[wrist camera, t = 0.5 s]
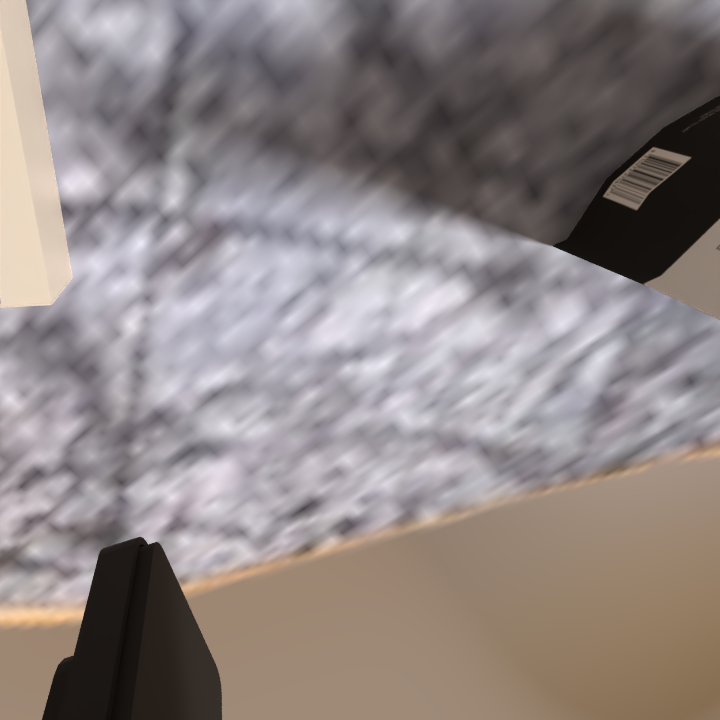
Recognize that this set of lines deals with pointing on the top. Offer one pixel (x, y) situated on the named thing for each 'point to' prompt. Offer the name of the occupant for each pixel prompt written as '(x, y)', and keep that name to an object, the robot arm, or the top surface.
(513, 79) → the top surface
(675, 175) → the protein powder
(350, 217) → the top surface
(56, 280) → the socket
